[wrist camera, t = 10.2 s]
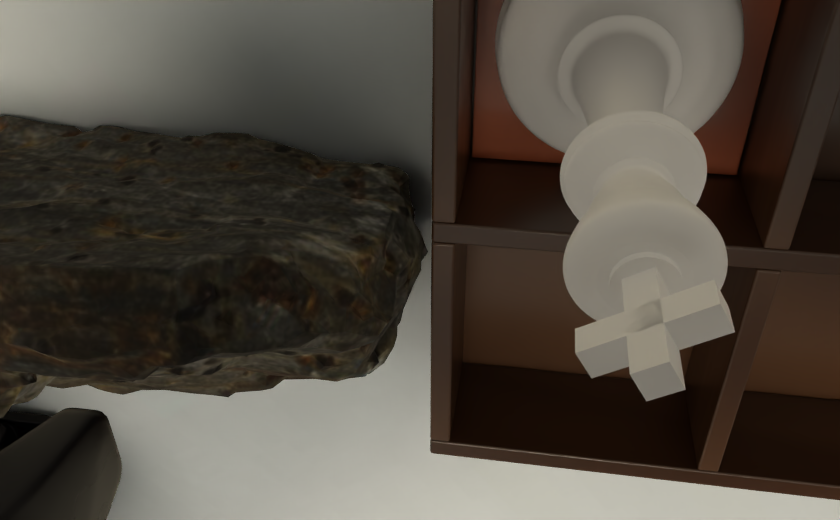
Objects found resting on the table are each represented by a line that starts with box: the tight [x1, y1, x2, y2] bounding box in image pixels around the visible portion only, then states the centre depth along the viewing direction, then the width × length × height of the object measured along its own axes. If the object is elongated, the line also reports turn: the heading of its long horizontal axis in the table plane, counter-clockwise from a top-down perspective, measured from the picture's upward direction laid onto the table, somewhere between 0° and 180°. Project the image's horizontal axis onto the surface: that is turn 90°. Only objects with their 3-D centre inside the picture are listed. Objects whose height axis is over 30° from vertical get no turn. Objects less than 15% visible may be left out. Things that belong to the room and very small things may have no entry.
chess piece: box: [495, 0, 744, 401], centre depth 13 cm, size 5×5×10 cm
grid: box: [430, 0, 840, 500], centre depth 17 cm, size 14×14×3 cm
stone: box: [0, 115, 428, 418], centre depth 18 cm, size 7×8×15 cm
